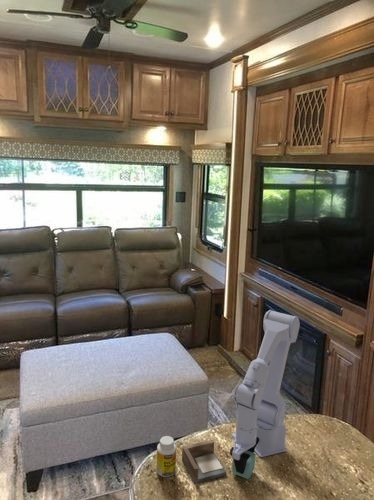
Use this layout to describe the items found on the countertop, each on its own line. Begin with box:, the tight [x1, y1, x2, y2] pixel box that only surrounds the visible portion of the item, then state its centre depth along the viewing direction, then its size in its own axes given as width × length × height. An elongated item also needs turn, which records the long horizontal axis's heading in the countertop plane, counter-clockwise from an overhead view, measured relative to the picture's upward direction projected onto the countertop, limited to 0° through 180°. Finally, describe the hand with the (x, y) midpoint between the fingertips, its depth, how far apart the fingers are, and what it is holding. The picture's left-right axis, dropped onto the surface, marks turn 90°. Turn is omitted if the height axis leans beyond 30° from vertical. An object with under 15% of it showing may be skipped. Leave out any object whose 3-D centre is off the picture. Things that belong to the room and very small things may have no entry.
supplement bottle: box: [156, 435, 177, 478], centre depth 120 cm, size 6×6×10 cm
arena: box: [181, 439, 227, 484], centre depth 123 cm, size 10×10×4 cm
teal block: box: [231, 451, 257, 480], centre depth 121 cm, size 5×5×5 cm
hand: (243, 466), depth 121 cm, fingers closed on teal block, 5 cm apart
